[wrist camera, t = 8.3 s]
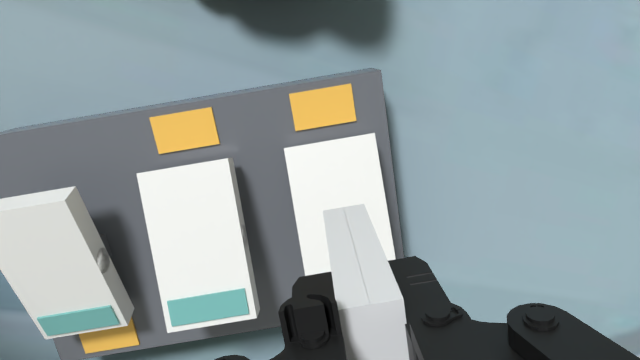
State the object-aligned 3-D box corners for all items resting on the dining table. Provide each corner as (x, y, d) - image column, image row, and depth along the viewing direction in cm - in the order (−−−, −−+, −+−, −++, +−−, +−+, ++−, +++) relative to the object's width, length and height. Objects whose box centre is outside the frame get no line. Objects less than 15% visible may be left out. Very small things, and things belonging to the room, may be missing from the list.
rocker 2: (146, 172, 29) (135, 173, 28) (232, 157, 29) (227, 158, 27) (175, 323, 30) (166, 334, 28) (260, 309, 30) (256, 319, 28)
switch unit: (15, 128, 33) (-39, 142, 28) (371, 68, 33) (385, 71, 28) (86, 330, 38) (51, 376, 32) (398, 278, 38) (414, 316, 32)
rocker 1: (-18, 201, 27) (-36, 218, 26) (75, 186, 27) (63, 201, 26) (55, 321, 32) (44, 341, 30) (134, 308, 32) (127, 327, 30)
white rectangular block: (285, 149, 29) (283, 148, 28) (371, 135, 29) (375, 132, 28) (311, 302, 30) (310, 310, 28) (397, 288, 30) (402, 295, 28)
